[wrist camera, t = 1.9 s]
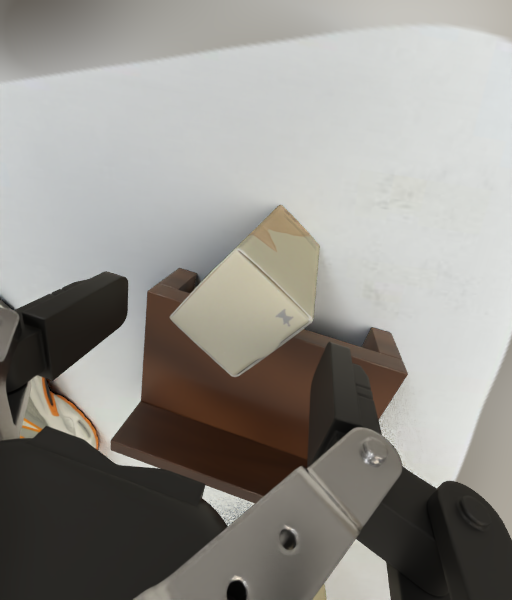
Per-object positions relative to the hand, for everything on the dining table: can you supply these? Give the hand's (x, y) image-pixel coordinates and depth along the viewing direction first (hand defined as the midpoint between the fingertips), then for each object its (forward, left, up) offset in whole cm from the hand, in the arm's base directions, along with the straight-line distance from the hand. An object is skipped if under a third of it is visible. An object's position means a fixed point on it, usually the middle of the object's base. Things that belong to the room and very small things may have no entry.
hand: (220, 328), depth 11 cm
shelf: (+10, +2, -12) cm, 16 cm away
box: (0, 0, -12) cm, 12 cm away
